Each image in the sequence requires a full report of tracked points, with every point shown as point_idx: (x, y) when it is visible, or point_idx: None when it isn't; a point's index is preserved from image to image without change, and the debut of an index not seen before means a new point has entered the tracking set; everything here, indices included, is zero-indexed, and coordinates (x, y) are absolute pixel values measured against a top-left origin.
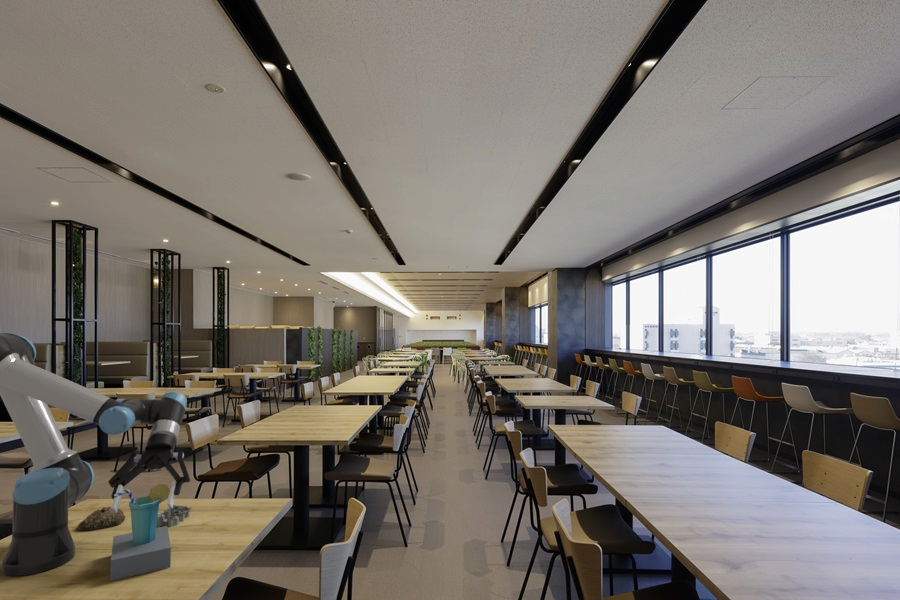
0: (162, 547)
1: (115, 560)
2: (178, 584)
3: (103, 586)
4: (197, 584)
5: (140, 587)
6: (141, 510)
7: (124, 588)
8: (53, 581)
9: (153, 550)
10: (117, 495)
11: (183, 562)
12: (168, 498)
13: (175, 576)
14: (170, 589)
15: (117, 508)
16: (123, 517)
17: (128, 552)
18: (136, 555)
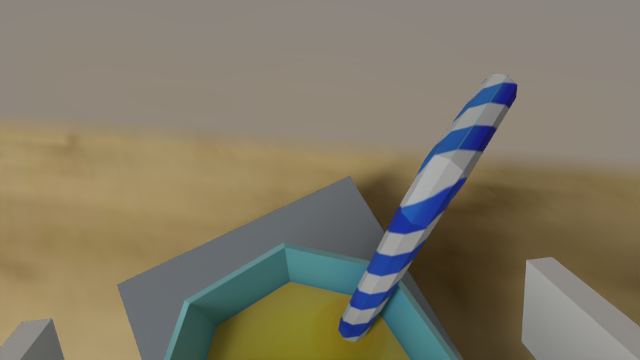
0: (162, 290)
1: (334, 186)
2: (79, 165)
3: (345, 177)
4: (12, 158)
5: (208, 158)
6: (279, 275)
7: (262, 157)
8: (567, 231)
9: (195, 256)
10: (473, 95)
11: (102, 350)
12: (21, 355)
13: (105, 223)
14: (99, 136)
15: (539, 349)
16: None
17: (313, 246)
18: (259, 218)
